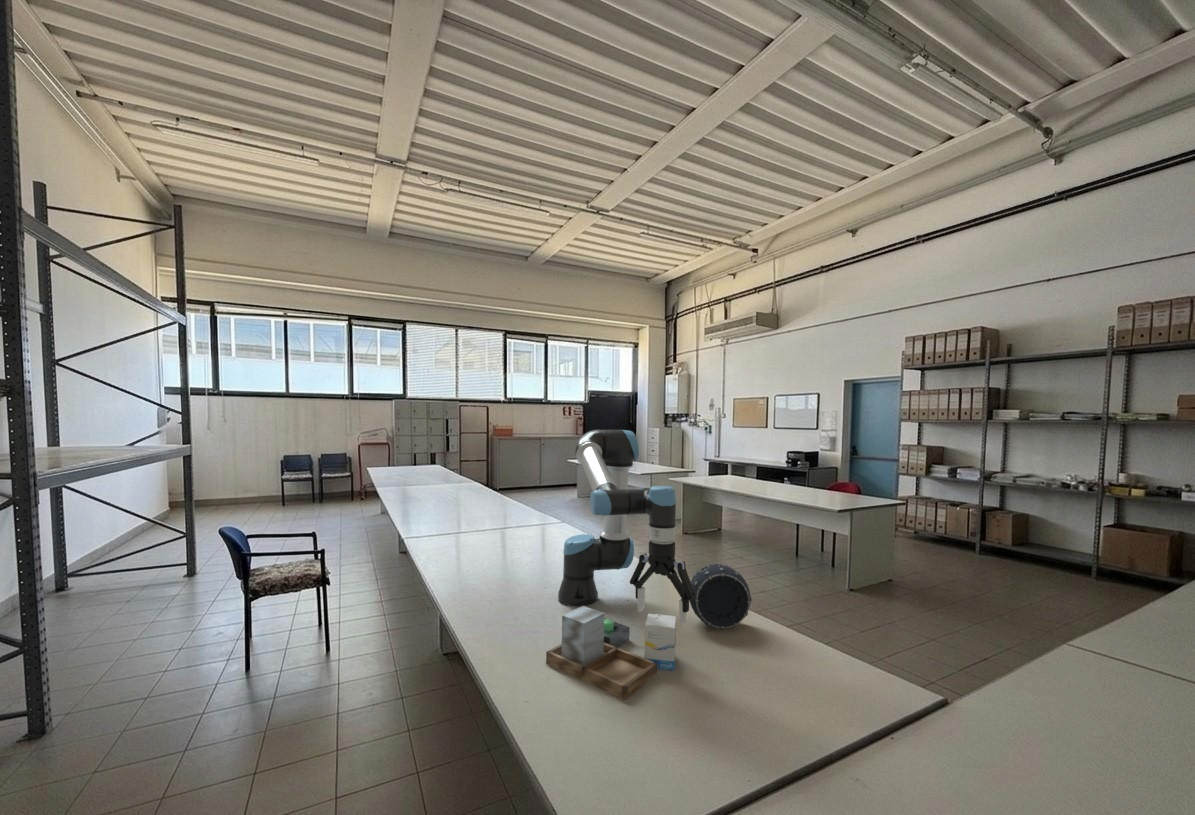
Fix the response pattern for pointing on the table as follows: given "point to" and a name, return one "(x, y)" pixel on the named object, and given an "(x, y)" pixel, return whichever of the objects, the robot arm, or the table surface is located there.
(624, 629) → the grey square socket block
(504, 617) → the table surface
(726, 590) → the dark round pouf
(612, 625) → the button
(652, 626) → the ink box
